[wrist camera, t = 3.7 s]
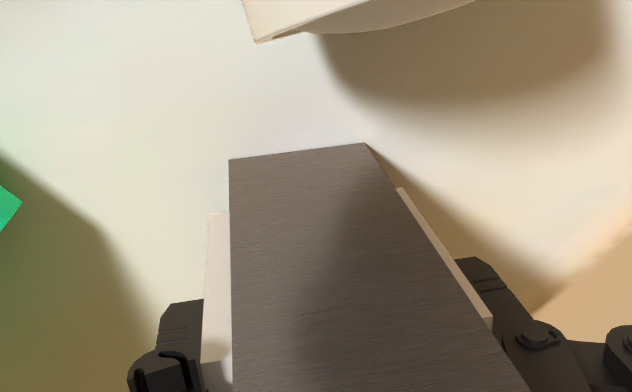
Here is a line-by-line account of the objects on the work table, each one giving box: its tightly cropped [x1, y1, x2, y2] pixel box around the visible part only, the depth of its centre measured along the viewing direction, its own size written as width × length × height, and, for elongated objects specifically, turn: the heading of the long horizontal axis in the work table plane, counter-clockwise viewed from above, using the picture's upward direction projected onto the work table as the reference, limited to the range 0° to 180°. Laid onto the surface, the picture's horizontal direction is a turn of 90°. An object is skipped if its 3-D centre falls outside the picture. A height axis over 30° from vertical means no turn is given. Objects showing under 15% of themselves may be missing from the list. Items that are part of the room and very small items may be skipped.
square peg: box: [229, 143, 531, 392], centre depth 14 cm, size 4×4×12 cm
